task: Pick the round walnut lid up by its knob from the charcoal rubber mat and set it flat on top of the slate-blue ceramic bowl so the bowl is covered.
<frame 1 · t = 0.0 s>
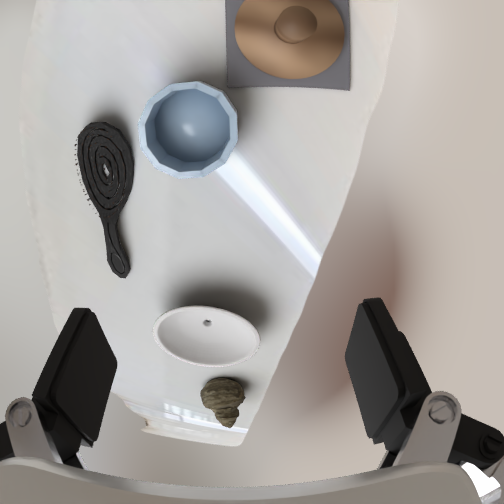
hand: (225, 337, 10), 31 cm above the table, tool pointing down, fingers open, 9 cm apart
dish: (208, 318, 52), on the table
bowl: (193, 124, 35), on the table
hairbrush: (112, 203, 41), on the table
mat: (289, 30, 29), on the table
seashell: (223, 382, 63), on the table
lid: (289, 30, 29), resting on mat
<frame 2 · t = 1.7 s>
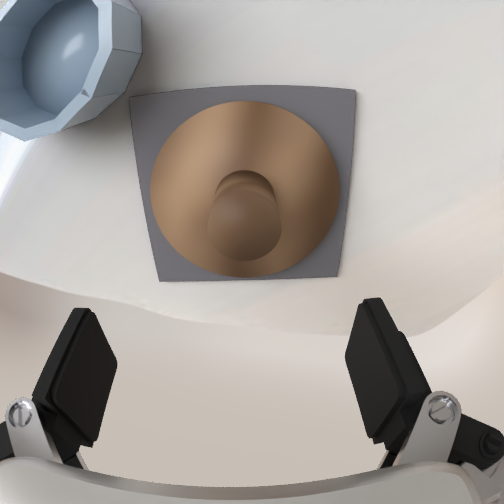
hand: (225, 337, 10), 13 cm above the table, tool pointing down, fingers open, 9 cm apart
bowl: (72, 53, 15), on the table
mat: (244, 190, 22), on the table
lid: (244, 193, 21), resting on mat
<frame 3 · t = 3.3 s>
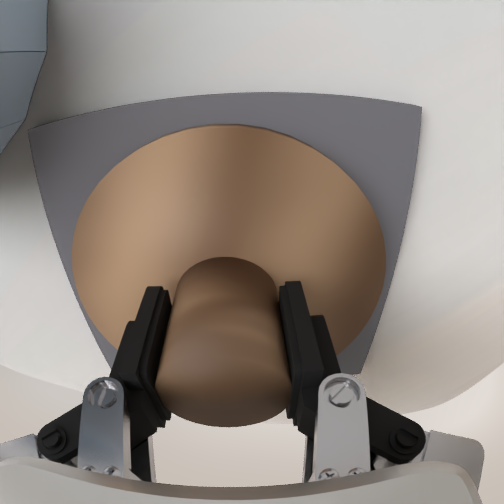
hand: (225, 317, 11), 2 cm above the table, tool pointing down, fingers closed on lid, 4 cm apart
mat: (227, 277, 13), on the table
lid: (227, 284, 13), point 1 cm above the table, touching gripper, mat
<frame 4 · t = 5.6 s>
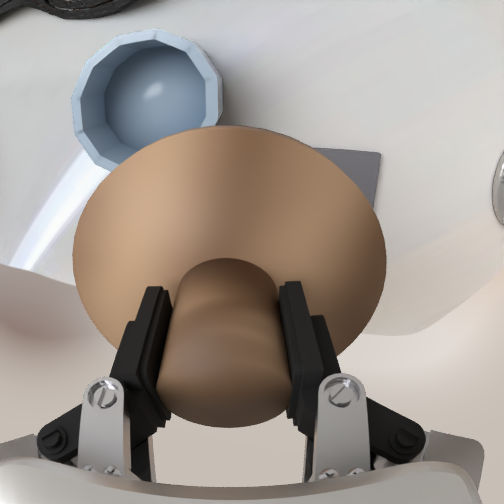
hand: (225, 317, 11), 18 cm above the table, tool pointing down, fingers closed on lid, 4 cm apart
bowl: (157, 99, 22), on the table
mat: (294, 224, 29), on the table
lid: (227, 285, 13), point 16 cm above the table, touching gripper
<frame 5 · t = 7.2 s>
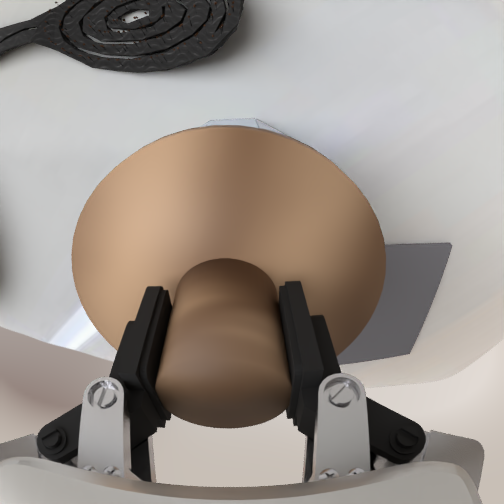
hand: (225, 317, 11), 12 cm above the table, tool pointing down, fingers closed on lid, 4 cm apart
bowl: (236, 195, 22), on the table
hairbrush: (73, 26, 14), on the table
mat: (366, 311, 28), on the table
lid: (226, 285, 13), point 10 cm above the table, touching gripper
when the fingers open (8 cm above the table, at t = 8.2 s): lid drops 1 cm, resting on bowl.
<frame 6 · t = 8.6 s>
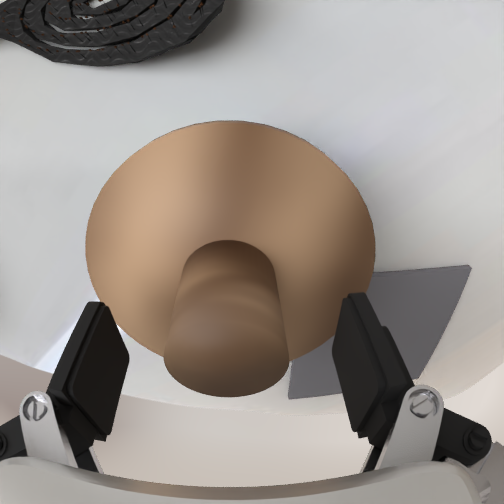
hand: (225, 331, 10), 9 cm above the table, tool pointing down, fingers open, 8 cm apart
hairbrush: (37, 15, 10), on the table
mat: (376, 340, 25), on the table
lid: (229, 267, 14), point 5 cm above the table, touching bowl
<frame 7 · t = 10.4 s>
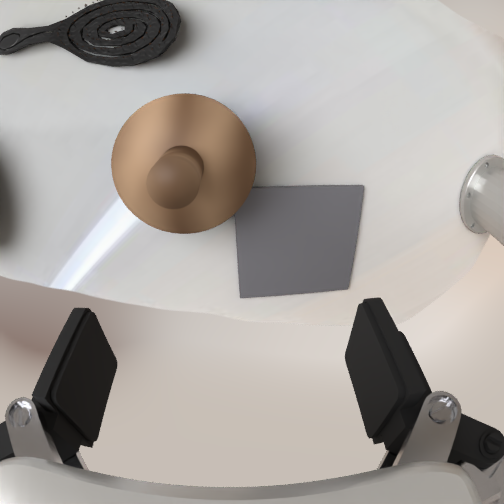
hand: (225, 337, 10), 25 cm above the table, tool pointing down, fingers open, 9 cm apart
hairbrush: (76, 33, 22), on the table
mat: (298, 243, 37), on the table
lid: (182, 164, 26), point 5 cm above the table, touching bowl
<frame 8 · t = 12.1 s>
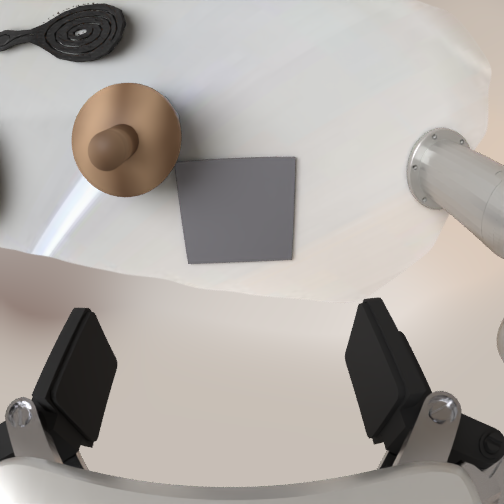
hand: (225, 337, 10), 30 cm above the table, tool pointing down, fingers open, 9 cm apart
hairbrush: (52, 35, 26), on the table
mat: (237, 212, 41), on the table
lid: (124, 139, 30), point 5 cm above the table, touching bowl
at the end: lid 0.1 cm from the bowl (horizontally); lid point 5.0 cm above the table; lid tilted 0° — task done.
